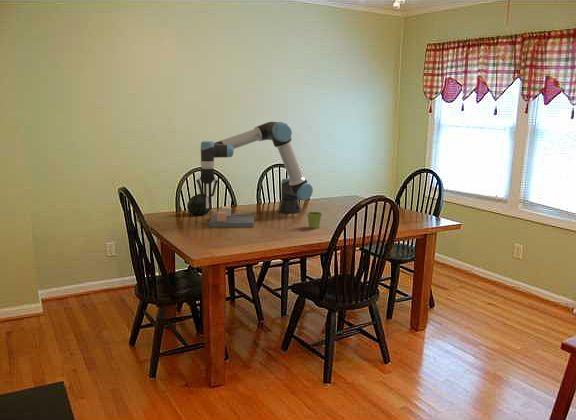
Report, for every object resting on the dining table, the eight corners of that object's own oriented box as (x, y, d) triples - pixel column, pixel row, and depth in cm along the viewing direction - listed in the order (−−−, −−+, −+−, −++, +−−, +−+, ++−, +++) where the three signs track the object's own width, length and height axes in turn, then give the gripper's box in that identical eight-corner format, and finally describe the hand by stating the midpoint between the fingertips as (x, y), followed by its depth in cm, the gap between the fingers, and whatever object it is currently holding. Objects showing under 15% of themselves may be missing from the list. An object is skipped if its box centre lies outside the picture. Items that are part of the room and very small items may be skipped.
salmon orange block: (226, 219, 303) (226, 211, 302) (225, 221, 297) (225, 213, 296) (217, 219, 303) (217, 211, 302) (217, 221, 297) (217, 213, 296)
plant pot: (311, 229, 295) (311, 215, 293) (303, 226, 303) (303, 212, 301) (324, 228, 299) (325, 214, 297) (316, 225, 307) (317, 211, 305)
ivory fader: (230, 214, 318) (230, 206, 317) (230, 216, 312) (230, 208, 311) (222, 214, 317) (222, 206, 316) (222, 216, 312) (221, 208, 311)
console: (254, 218, 321) (254, 213, 321) (253, 227, 298) (253, 222, 297) (212, 218, 320) (212, 213, 319) (209, 227, 296) (209, 222, 296)
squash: (184, 204, 337) (188, 189, 326) (206, 203, 343) (210, 189, 332) (187, 221, 329) (191, 207, 318) (210, 220, 335) (214, 206, 324)
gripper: (219, 167, 297) (219, 206, 302) (196, 167, 296) (197, 206, 301) (218, 169, 290) (218, 209, 294) (195, 168, 289) (195, 208, 294)
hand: (207, 207), depth 298 cm, fingers closed
